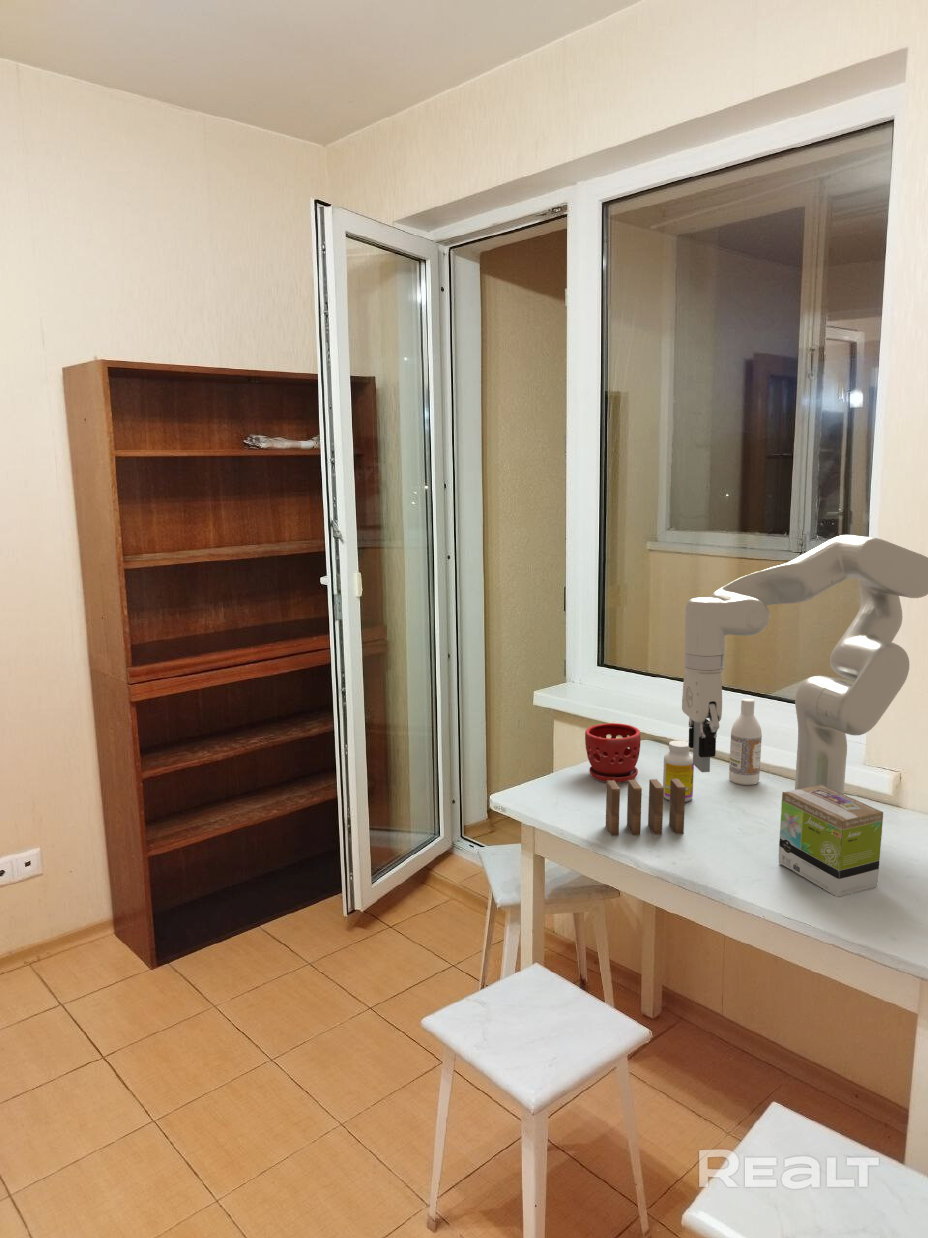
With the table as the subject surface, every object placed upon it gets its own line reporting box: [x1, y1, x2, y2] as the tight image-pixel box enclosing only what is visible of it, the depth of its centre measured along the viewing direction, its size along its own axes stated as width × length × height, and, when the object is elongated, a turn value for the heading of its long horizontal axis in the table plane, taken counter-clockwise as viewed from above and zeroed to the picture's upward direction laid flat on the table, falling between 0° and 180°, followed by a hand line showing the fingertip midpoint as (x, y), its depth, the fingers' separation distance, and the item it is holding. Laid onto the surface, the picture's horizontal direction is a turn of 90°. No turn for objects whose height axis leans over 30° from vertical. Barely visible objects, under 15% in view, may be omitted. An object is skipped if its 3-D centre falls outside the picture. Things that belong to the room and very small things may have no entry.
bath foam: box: [728, 697, 763, 786], centre depth 213 cm, size 7×7×20 cm
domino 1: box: [605, 780, 621, 836], centre depth 185 cm, size 2×5×10 cm, turn 3°
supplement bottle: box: [662, 740, 695, 803], centre depth 202 cm, size 7×7×13 cm
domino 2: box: [626, 779, 643, 836], centre depth 185 cm, size 2×5×10 cm, turn 4°
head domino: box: [692, 718, 711, 773], centre depth 176 cm, size 2×5×10 cm, turn 5°
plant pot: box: [584, 722, 642, 785], centre depth 216 cm, size 13×13×12 cm
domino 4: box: [668, 779, 686, 835], centre depth 185 cm, size 2×5×10 cm, turn 4°
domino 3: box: [647, 778, 664, 835], centre depth 185 cm, size 2×5×10 cm, turn 4°
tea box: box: [778, 784, 884, 898], centre depth 163 cm, size 15×10×15 cm, turn 23°
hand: (701, 750), depth 176 cm, fingers closed on head domino, 4 cm apart
